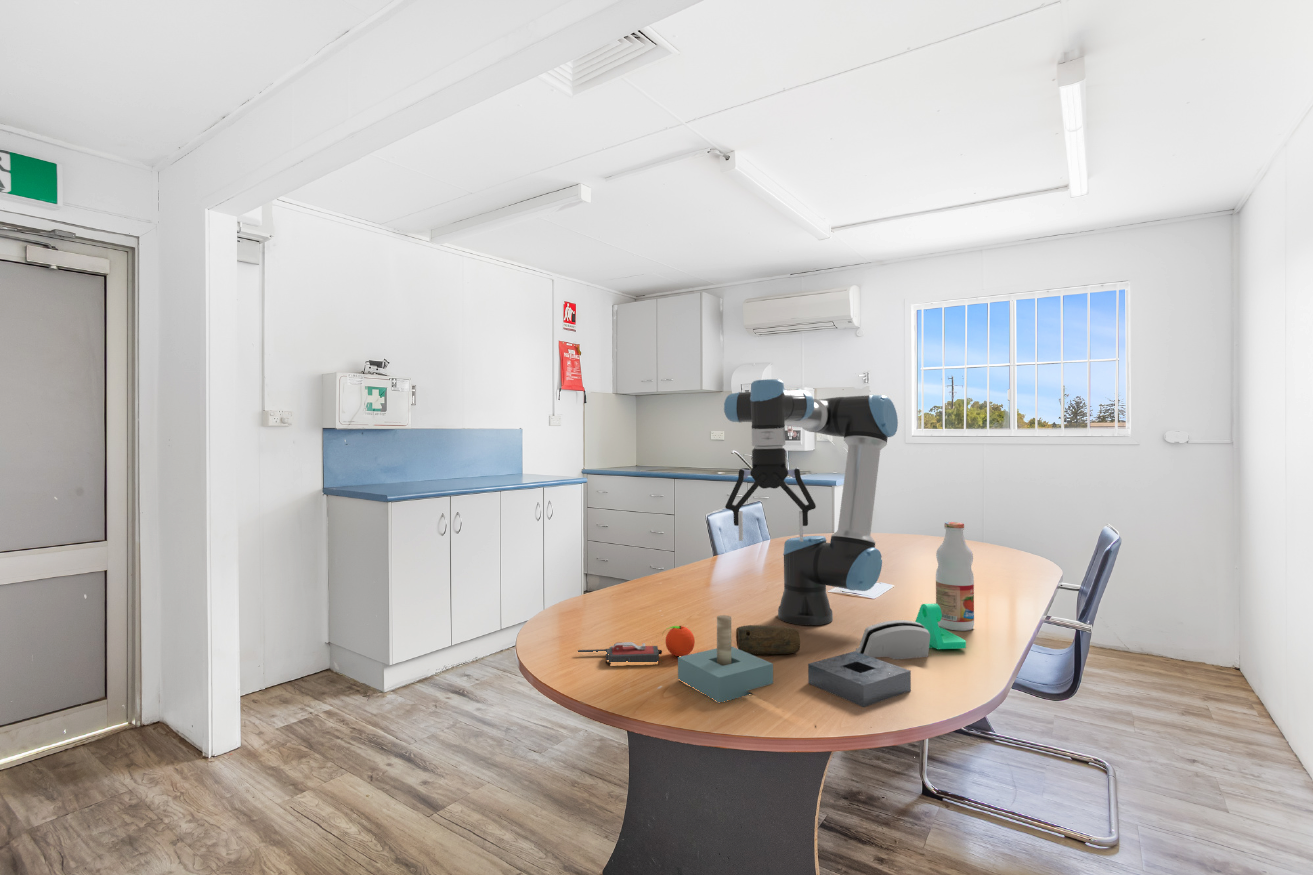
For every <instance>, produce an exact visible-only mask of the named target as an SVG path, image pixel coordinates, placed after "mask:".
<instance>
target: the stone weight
mask: <svg viewBox="0 0 1313 875" xmlns="http://www.w3.org/2000/svg"><path fill="white" fill-rule="evenodd" d="M735 630H736V631H735V640H736V648H737V649H739V650H742V651H744V652H746V653H749V654H751V655H769V654H770V655H786V654H787V655H788V654H794V653H797V652H799V651H800V647H801V635H800V631H799V630H798V629H797V628H795V627H790V626H783V625H782V626H781V625H761V624H760V625H759V624H757V625H755V624H753V625H751V624H750V625H742V626H738V627H736V629H735Z"/></svg>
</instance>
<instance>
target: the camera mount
mask: <svg viewBox="0 0 1313 875" xmlns="http://www.w3.org/2000/svg"><path fill="white" fill-rule="evenodd" d="M941 618H942V612H941V608H940V606H939V605H938V604H936V603H922V604H921V605H920V607H919V610H918V612H917V616H916V618H915V621H914V622H917V623H920V624H921V625H923V626H924V627H925V629H927V630H928V632H929V633H930V642H929V649H936V650H951V649H952V650H953V649H966V648H967V641H966V640H965V639H964V638H962V637H960V636H958V635H957V634H955V633H952V632H951V631H949V630H948V629H945V628H942V627H940V626H939V625H938V622H939V621H940V620H941Z"/></svg>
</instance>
